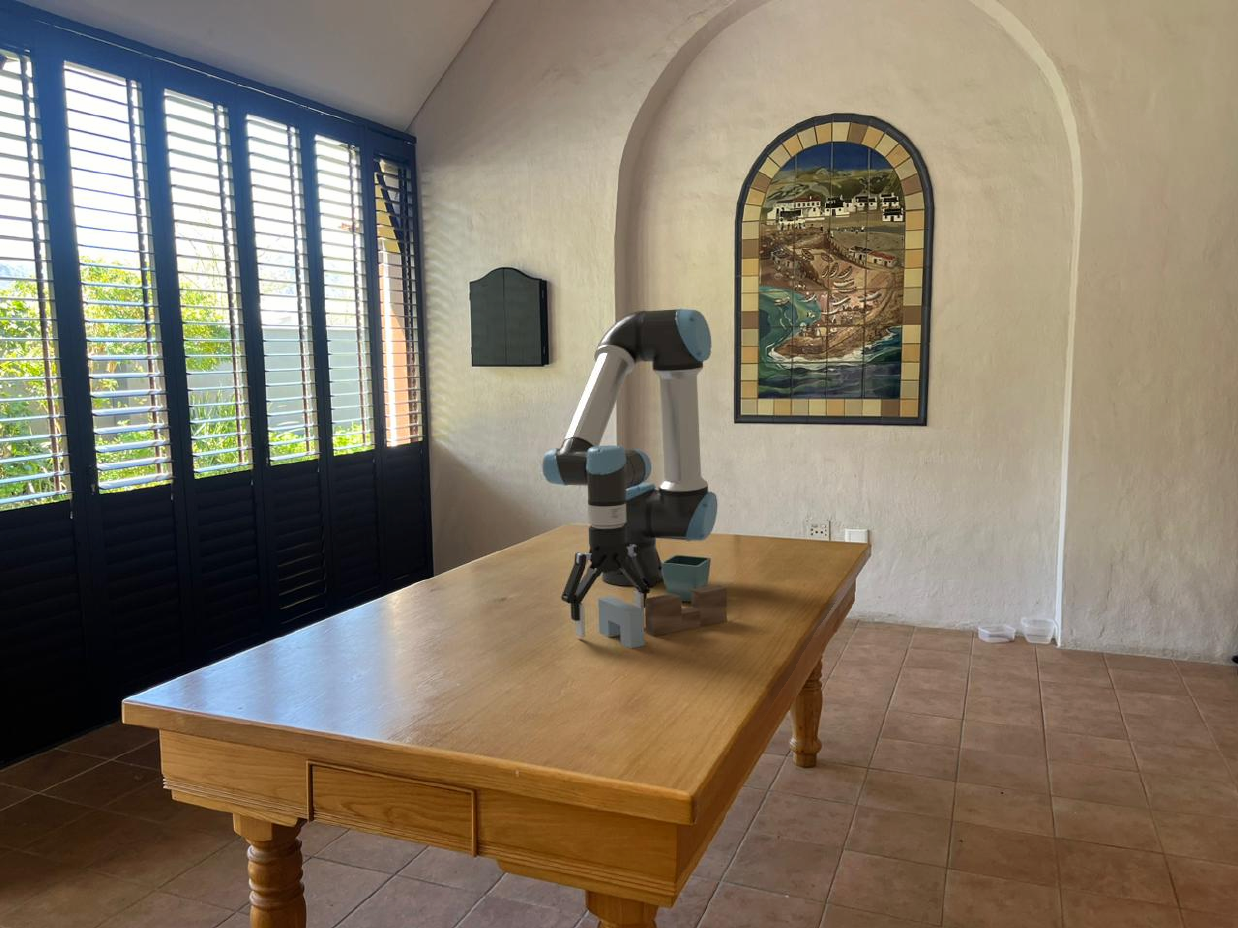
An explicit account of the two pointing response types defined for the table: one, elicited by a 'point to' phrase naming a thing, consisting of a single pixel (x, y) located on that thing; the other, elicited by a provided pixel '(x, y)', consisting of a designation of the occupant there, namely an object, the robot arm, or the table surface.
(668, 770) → the table surface
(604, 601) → the light blue notched brick
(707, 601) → the walnut notched block
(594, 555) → the robot arm
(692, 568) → the flower pot
